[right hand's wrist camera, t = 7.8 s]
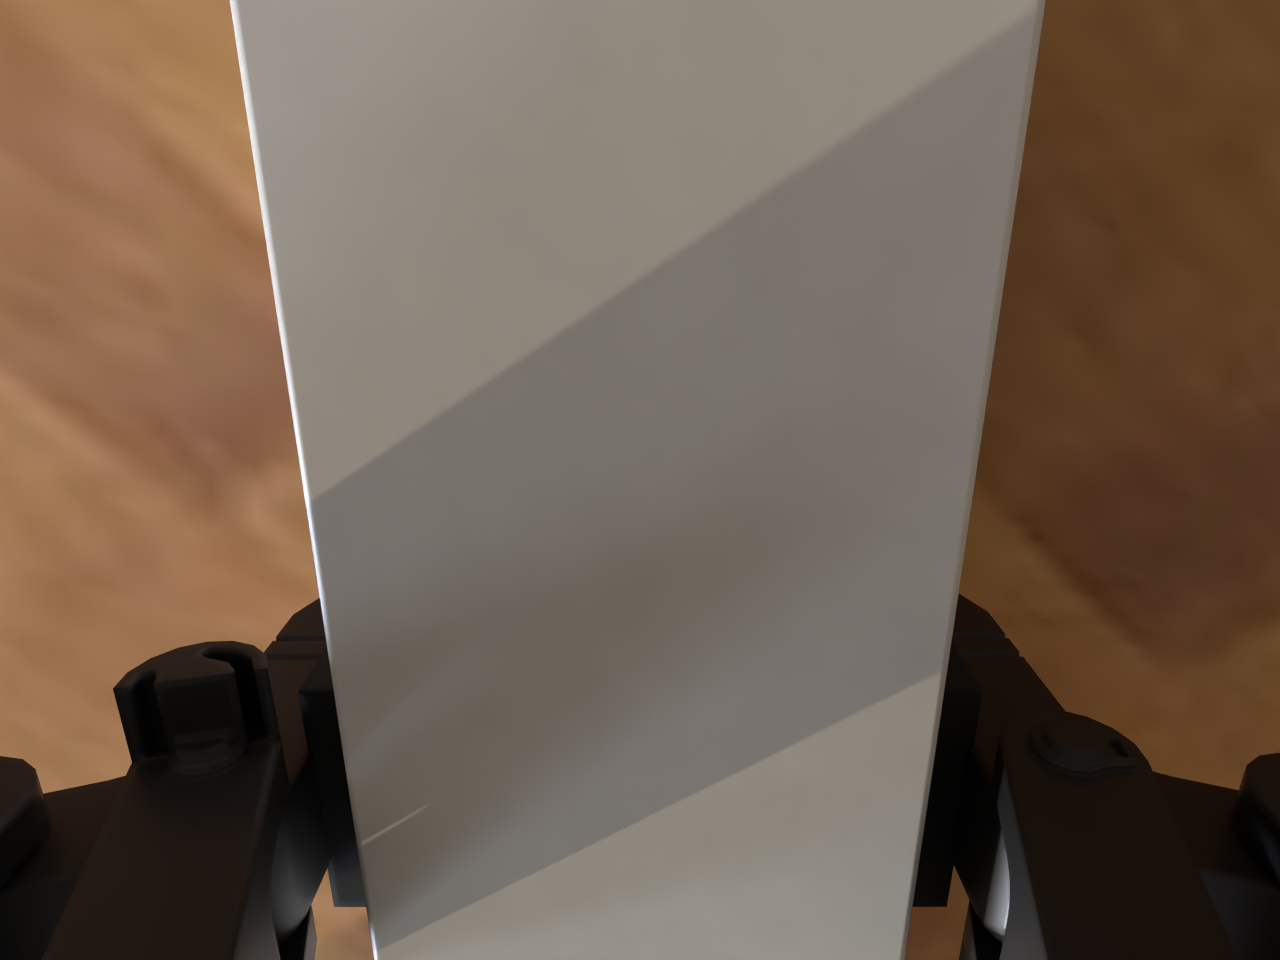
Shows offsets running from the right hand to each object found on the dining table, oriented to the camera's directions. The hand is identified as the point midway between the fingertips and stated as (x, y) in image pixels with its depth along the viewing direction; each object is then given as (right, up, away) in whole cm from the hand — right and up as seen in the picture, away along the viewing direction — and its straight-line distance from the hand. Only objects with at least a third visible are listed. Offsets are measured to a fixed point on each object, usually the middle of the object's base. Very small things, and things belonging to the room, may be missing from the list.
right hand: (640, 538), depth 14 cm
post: (0, -19, +8) cm, 20 cm away
